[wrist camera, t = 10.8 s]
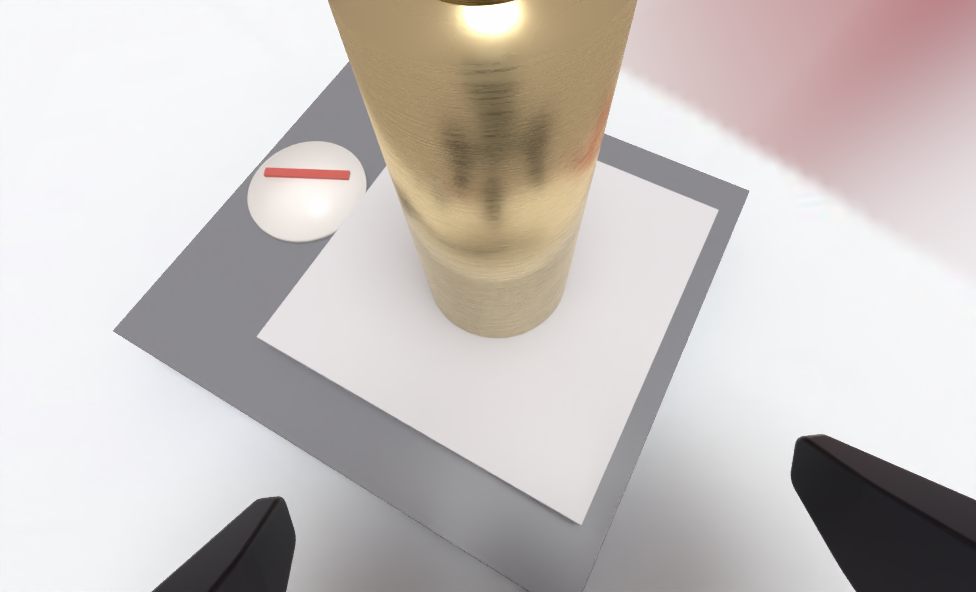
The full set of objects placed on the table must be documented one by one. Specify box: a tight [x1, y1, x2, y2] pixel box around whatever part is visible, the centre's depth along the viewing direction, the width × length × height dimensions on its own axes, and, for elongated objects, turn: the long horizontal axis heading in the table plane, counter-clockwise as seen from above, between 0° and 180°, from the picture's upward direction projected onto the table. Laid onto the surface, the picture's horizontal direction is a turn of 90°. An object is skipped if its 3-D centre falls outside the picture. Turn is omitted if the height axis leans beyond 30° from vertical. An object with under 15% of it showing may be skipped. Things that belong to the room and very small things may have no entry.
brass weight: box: [328, 0, 637, 338], centre depth 13 cm, size 5×5×13 cm
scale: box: [113, 61, 749, 592], centre depth 22 cm, size 18×20×4 cm
